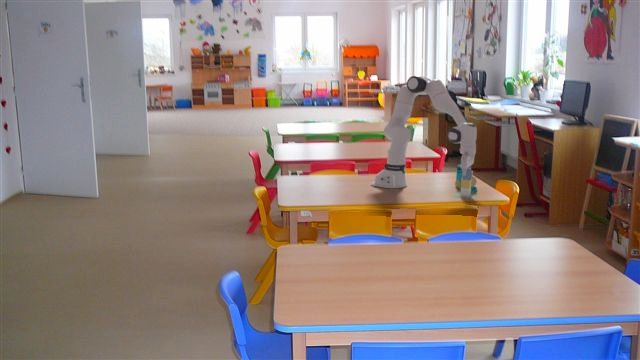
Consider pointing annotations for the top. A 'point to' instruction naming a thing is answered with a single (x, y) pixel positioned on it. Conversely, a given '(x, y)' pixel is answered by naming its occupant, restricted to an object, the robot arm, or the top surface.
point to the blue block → (468, 176)
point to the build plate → (465, 196)
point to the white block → (465, 192)
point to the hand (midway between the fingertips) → (466, 173)
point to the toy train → (459, 177)
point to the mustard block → (466, 183)
